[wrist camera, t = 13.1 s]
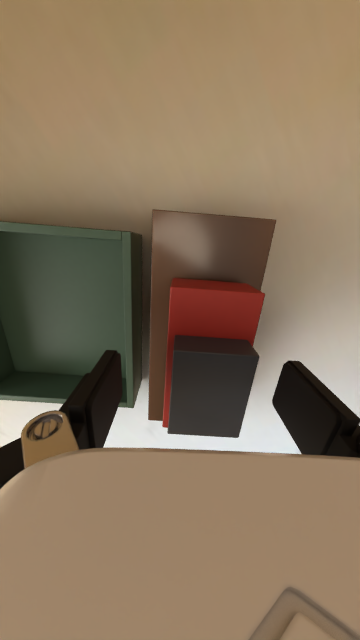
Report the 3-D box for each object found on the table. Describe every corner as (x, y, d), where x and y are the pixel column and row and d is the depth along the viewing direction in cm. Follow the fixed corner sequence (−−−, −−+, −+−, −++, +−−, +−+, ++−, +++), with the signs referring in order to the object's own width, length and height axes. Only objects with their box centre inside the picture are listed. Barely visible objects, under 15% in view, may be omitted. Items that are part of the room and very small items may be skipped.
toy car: (166, 388, 17) (159, 453, 12) (173, 275, 14) (168, 294, 8) (221, 391, 17) (240, 458, 12) (242, 280, 14) (282, 303, 8)
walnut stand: (153, 391, 22) (148, 420, 19) (159, 218, 16) (152, 209, 12) (221, 395, 23) (230, 425, 19) (254, 225, 16) (276, 219, 12)
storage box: (15, 372, 22) (-20, 398, 18) (-28, 221, 16) (-91, 213, 12) (141, 380, 22) (133, 408, 18) (142, 235, 16) (130, 231, 13)
